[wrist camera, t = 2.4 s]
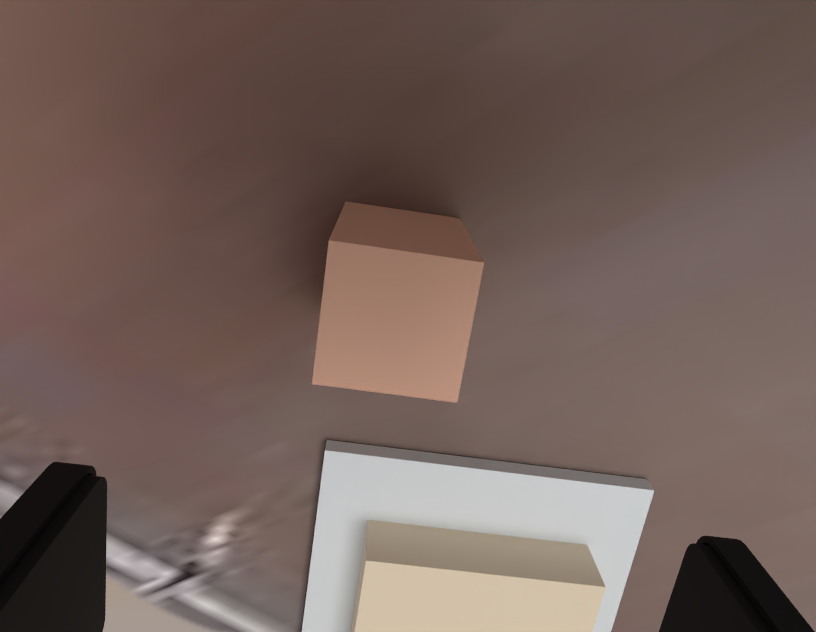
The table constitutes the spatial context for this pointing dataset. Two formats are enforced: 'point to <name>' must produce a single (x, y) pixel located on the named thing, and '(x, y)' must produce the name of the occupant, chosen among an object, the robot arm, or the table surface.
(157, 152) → the table surface
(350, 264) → the terracotta block
